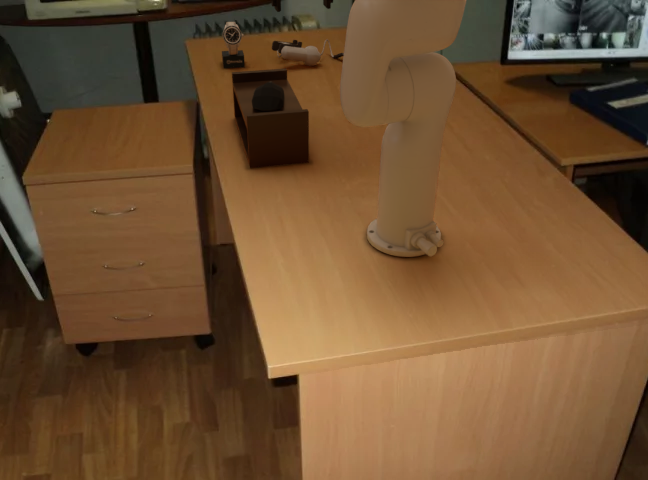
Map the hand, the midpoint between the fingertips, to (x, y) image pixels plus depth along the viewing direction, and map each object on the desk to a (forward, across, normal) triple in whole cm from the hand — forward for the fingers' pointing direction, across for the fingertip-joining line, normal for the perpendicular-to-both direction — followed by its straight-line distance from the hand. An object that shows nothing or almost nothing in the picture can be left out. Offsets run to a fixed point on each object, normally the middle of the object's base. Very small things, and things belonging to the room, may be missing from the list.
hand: (302, 8), depth 139 cm
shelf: (+28, -7, +3) cm, 29 cm away
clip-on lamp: (+27, +12, +49) cm, 58 cm away
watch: (+27, -8, +51) cm, 58 cm away
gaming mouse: (+19, -6, +3) cm, 20 cm away
